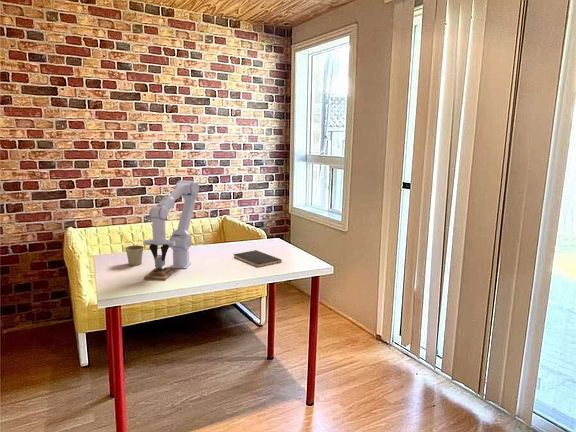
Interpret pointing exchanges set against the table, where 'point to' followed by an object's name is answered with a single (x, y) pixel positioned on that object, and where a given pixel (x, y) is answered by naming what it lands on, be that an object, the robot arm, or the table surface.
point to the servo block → (159, 261)
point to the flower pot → (134, 254)
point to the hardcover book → (257, 258)
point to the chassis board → (159, 274)
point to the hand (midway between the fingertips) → (159, 260)
